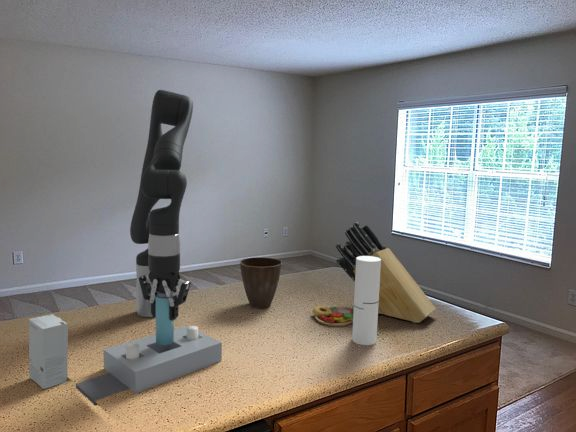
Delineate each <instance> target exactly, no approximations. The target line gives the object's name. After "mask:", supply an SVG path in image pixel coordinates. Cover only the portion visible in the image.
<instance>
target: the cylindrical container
mask: <svg viewBox="0 0 576 432" xmlns="http://www.w3.org/2000/svg"><path fill="white" fill-rule="evenodd" d="M380 269H381V259H380V258H378V257H373V256H359V257H356V273H355V281H354V293H353V294H354V295H353V296H354V297H353V298H354V299H353V312H352V314H353V321H352V336H351V337H352V338H351V340H352V342H353V343H355V344H358V345H361V346H373V345H375V344H376V343H377V336H378V335H377V334H378V319H379V318H378V317H379V313H378V304H379V287H380Z"/></svg>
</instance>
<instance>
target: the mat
mask: <svg viewBox="0 0 576 432" xmlns="http://www.w3.org/2000/svg"><path fill="white" fill-rule="evenodd" d="M75 389H76V390H77V391H78V392H80V394H82V395H83V396H84V397H85V398H86V397H87V398H88V399H87V398H86V399H87V400H88V401H89V402H90V403H92V404H93V405H94V406H96V405H98V403H97V402H96V401H99V400H101V399H104V398H107V397H109V396H112V395H115V394H117V393H120V392H122V391H126V390H130V388H129V387H127V386H126V385H125V384H123V383H122V382H121V381H119V380H118V379H117V378H116V377H114V376H113V375H112V374H110V373H109V372H107V373H105V374H102V375H99V376H95V377H93V378H90V379H89V378H88V379H87V380H84V381H80V382H78V383H75Z"/></svg>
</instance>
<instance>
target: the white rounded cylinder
mask: <svg viewBox="0 0 576 432" xmlns="http://www.w3.org/2000/svg"><path fill="white" fill-rule="evenodd" d="M137 358H139V345H138V344H135V343H133V344H128V345H126V360H128V361H130V360H134V359H137Z"/></svg>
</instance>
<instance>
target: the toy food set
mask: <svg viewBox="0 0 576 432" xmlns="http://www.w3.org/2000/svg"><path fill="white" fill-rule="evenodd" d="M312 314H314V318H315V319H316V320H317V322H318V323H320V324H322V325H325V326H331V327H344V326H347V325H350V324H351V323H353V311H352V310H351V309H349V308H339V307H337V306H335V307H330V308H329V307H327V306H324V305H317V306H315V307H313V309H312Z"/></svg>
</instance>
